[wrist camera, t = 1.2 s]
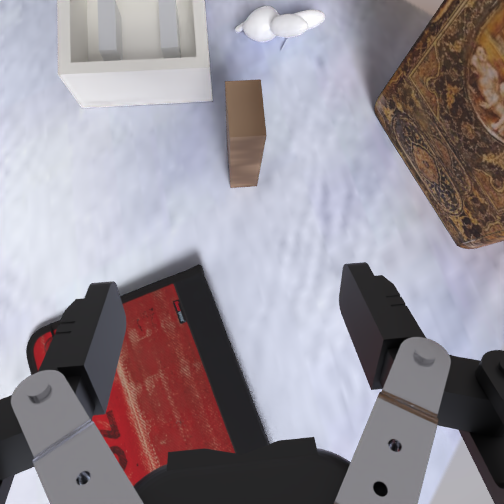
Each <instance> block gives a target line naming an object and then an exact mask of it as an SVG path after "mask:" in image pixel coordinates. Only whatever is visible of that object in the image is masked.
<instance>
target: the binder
mask: <svg viewBox="0 0 504 504" xmlns="http://www.w3.org/2000/svg"><path fill="white" fill-rule="evenodd" d="M120 298H121V301H122V304H123V308H124V311H125V315H126V332H125V336H124V340H123V344H122V348H121V352H120V356H119V361H118V365H117V369H116V373H115V377H114V381H113V385H112V389H111V393H110V397H109V401H108V406H107V410H106V414H104V415H93V417H92V421H93V422H94V423H95V425H96V427H97V428H98V430H99V431H100V433H101V435H102V436H103V438H104V440H105V441H106V443H107V444H108V446H109V448H110V449H111V451H112V453H113V454H114V456H115V458H116V459H117V461H118V462H119V464H120V466H121V467H122V469H123V471H124V472H125V474H126V476H127V477H128V479H129V480H130V482H131V484H132V485H133V486H134V485H135V484H136V483H137V482H138V481H139V480H141V479H142V478H143V477H144V476H146V475H147V474H149V473H150V472H152V471H153V470H155V469H157V468H159V467H161V466H163V465H166V464H167V459H168V452H173V451H183V450H193V449H203V448H206V449H212V450H218V451H224V452H230V453H236V454H245V453H248V452H250V451H253V450H256V449H258V448H261V447H264V446H266V445H269V441H268V439H267V436H266V434H265V432H264V429H263V426H262V424H261V422H260V419H259V416H258V413H257V411H256V408H255V405H254V403H253V400H252V397H251V395H250V392H249V389H248V387H247V384H246V382H245V379H244V377H243V374H242V372H241V369H240V367H239V364H238V362H237V359H236V357H235V354H234V352H233V349H232V347H231V344H230V341H229V339H228V337H227V334H226V331H225V328H224V326H223V323H222V320H221V317H220V315H219V312H218V310H217V307H216V304H215V302H214V299H213V297H212V294H211V291H210V289H209V286H208V284H207V282H206V279H205V277H204V271H203V268H202V266H201V265H197V266H195V267H193V268H191V269H189V270H186V271H184V272H181V273H178V274H176V275H173V276H171V277H168V278H165V279H163V280H160V281H158V282H155V283H153V284H150V285H147V286H145V287H142V288H140V289H138V290H135V291H133V292H130V293H128V294H125V295H123V296H120ZM60 321H61V320H60ZM60 321H57V322H55V323H51V324H50V325H48V326H45V327H42V328H41V329H39V330H38V331H36V332H35V333H34V334H33V335H32V337H31V338H30V340H29V342H28V345H27V350H26V353H27V360H28V364H29V368H30V371H31V375H33V374H35V373H37V372H38V370H39V368H40V366H41V364H42V361H43V359H44V357H45V355H46V352H47V350H48V348H49V346H50V343H51V341H52V339H53V337H54V335H55V332H56V330H57V328H58V325H60Z"/></svg>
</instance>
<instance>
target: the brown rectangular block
mask: <svg viewBox="0 0 504 504" xmlns="http://www.w3.org/2000/svg"><path fill="white" fill-rule="evenodd" d="M225 96H226V127H227V151H228V163H229V175H230V187H231V188H236V187H250V186H257V183H258V177H259V172H260V166H261V161H262V156H263V150H264V145H265V140H266V127H265V117H264V107H263V97H262V87H261V80H243V81H225Z"/></svg>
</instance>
